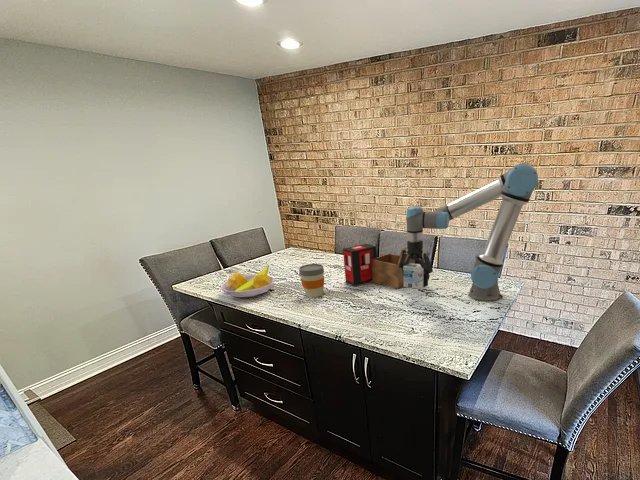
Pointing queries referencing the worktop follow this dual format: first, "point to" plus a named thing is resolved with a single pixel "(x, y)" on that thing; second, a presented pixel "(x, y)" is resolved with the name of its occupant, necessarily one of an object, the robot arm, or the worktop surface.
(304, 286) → the reusable coffee cup
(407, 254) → the flap
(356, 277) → the cleaning product box
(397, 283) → the carton
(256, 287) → the fruit bowl
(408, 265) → the light bulb box
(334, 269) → the worktop surface
